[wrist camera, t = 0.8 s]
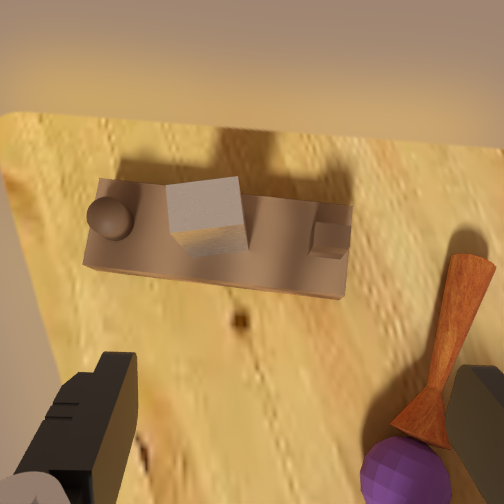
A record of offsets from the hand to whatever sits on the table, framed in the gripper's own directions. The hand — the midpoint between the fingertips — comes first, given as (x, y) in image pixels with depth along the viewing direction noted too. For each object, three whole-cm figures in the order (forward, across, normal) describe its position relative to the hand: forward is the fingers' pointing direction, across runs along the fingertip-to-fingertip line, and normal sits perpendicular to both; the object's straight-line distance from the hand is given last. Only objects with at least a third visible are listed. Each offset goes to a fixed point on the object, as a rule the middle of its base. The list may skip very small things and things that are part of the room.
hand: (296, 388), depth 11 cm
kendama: (+20, -14, +14) cm, 28 cm away
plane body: (+27, +2, +6) cm, 27 cm away
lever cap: (+24, +2, +4) cm, 25 cm away
